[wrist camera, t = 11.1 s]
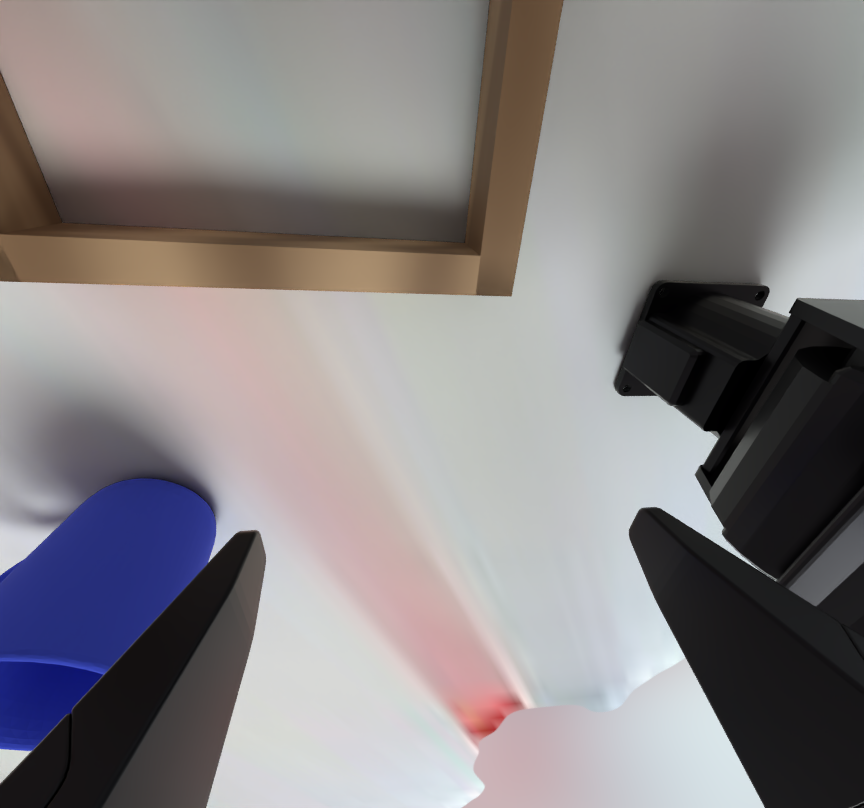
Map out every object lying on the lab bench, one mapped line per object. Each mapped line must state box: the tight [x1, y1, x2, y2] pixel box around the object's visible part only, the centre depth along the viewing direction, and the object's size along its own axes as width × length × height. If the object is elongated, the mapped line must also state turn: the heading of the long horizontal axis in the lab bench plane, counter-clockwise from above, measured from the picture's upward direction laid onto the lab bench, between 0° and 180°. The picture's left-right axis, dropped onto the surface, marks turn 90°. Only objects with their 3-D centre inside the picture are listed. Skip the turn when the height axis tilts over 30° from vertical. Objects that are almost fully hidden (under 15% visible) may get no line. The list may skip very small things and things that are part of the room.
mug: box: [0, 478, 216, 751], centre depth 19 cm, size 8×12×10 cm
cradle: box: [0, 0, 563, 296], centre depth 11 cm, size 19×14×3 cm
